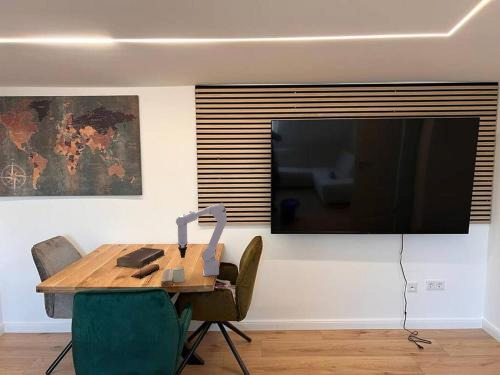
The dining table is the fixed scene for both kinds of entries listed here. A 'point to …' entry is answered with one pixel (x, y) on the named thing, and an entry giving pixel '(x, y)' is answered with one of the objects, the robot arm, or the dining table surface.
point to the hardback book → (140, 257)
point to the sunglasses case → (145, 271)
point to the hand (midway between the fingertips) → (182, 256)
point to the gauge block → (178, 274)
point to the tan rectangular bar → (167, 277)
